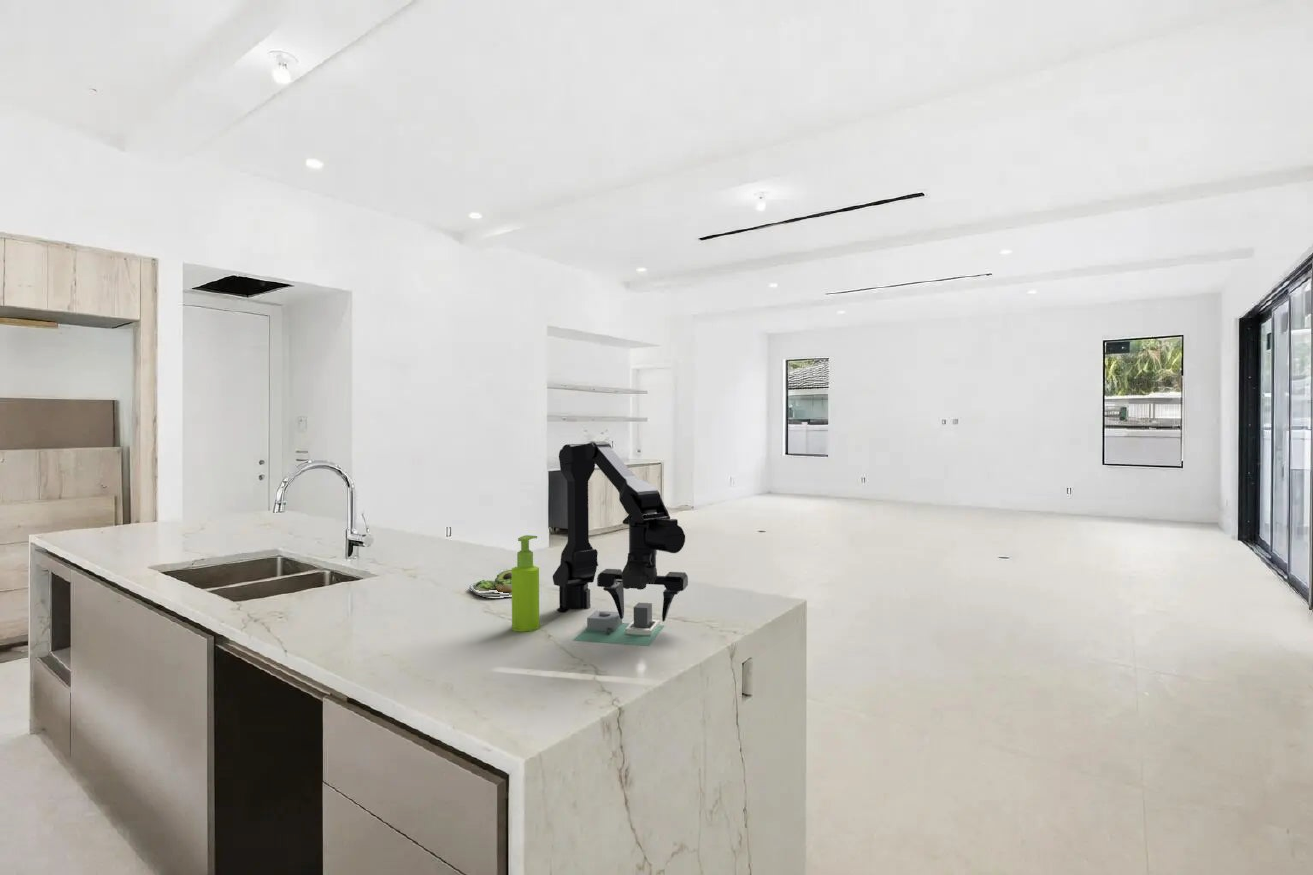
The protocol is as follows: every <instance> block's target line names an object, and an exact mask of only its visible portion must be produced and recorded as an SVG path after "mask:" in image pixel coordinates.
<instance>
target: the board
mask: <svg viewBox="0 0 1313 875" xmlns="http://www.w3.org/2000/svg"><path fill="white" fill-rule="evenodd" d="M664 628H665V625H661V620H660V619H652V627H651V628H650V629H646V628H634V619H633V620H632V621H631V622H623V619H621V618H620V616H619V613H618V611H613V610H612V611H609V610H595V611H594V612H593V613H591V614H590V615H589V616H588V617H586V627H585V629H584V630H582V631H581V632H580V633H579V634H577V636H575V638H573V639H572V641H575V642H590V643H603V644H613V645H614V644H616V645H617V644H618V645H628V646H629V645H630V646H645V647H650V645H651V644H652V643H653V641H654V640H655V639H656V638H657V637H658V635H659V634H660V633H661V631H662V630H663V629H664Z"/></svg>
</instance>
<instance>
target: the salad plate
mask: <svg viewBox="0 0 1313 875" xmlns="http://www.w3.org/2000/svg"><path fill="white" fill-rule="evenodd" d="M470 589H471V590H472V591H473V592H474V593H473V592H472V593H473V594H474V595H476V594H477V595H476V596H478V595H480V596H484V597H500V596H509V595H512V569H508V570H504V571H501V572H499V573H498V574H497V575H496V578H495V579H494V580H493V579H492V580H491V579H490V580H485V579H482V580H479V581H476V582H474V583H472V584H470V585H469V590H470ZM474 589H475V590H479V591H489V590H497V591H498V592H503V593H509V594H497V593H478V592H476V591H475V590H474ZM480 596H479V597H480Z"/></svg>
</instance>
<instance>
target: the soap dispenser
mask: <svg viewBox="0 0 1313 875" xmlns="http://www.w3.org/2000/svg"><path fill="white" fill-rule="evenodd" d="M532 539H533V540H534V539H538V535H531V534H530V535H528V534H525V535H522V536H520V537H518V538H517V541H518V542H520V550H519V551H518V552H517V553H516V557H517V558H516V560H517V561H516V562H517V563H516V564H517V565H516V566H514V567H512V568H511V570H512V597H511V629H512V630H513V631H515V632H532V631H533V632H534V631H536V630H538V629H539V628H540V567H539V566H538V565H537V566H536V565H534V552H533V551H531V550H530V540H532Z"/></svg>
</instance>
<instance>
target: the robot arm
mask: <svg viewBox="0 0 1313 875" xmlns="http://www.w3.org/2000/svg"><path fill="white" fill-rule="evenodd" d="M558 452H559V453H558V461H559V467H560V468H559V469H560V472H561V475H563V477H564V479H565V480H566V485H567V486H566V488H567V489H566V491H567V493H566V495H567V496H566V497H567V498H566V499H567V500H566V501H567V505H566V507H567V508H566V509H567V542H566V545H565V546H564V548H563V550H562V551H561V554H560V564H559V566H558V567H557V569H556V570H555V571H554V573H553V575H552V581H553V585H554V586H557V587H559V592H558V593H559V596H558V597H559V600H558V601H559V603H558V604H559V605H558V606H559V607H557V608H556V612H560V613H561V612H563V613H567V612H568V611H569V610H588V609H589V608H590V607H591V589H590V588H589V583H594V581H595V576H596V572H597V571H598V567H599V563H598V554H599V552H598V550H597V549H596V548H593V546H592V544H591V543H590V541H589V540H590V537H589V536H590V534H589V525H590V524H589V518H590V517H589V481H590V479H591V477H592V475H593V473H594V472H595V469H596V468H595V467H596V466H597V467H598V469H599V470H600V471H601V472H602V474H604V476H605V477H606V478H607V479H608V481H610V483H611V484H612V485H613V487H614V488H615V489H616V490H617V492H618V493H619V495H618V496H619V497H618V498H619V500H618V501H619V503H620V504H621V506H622V508H623V509H624V510H625V512H626V514H627V517H625V518H624V519H623V520H622V524H623V525H628V553H627V562H626V564H625V566H624V567H623V570H622V569H619V568H605V569H604V570H602V571H601V572H599V574H598V575H597V577H596V586H597V587H601V588H602V589H603V591H604V592H608V593H609V595H611V597H612V599H613V601H614V604H615V607H616V610H617V612H618V613H619V616H620V618H621V619H622V620H623V619H624V616H625V596H624V590H625V589H626V590H629V589H634V590H635V589H636V590H640V591H641V590H644V589H646V588H647V585H656V586H657V585H661V586H664V588H665V589H664V591H662V595H663V600H662V601H663V602H662V613H661V618H662V619H661V620H662V622H663V623H664V622H665V621H666V618H667V616H668V613H669V612H670V607H671V605H672V602H673V599H674V597H675V595H678V594H679V593H680V592H683V591H684V590H685V589H686V588H687V587H688V585H689V577H688V575H687V573H686V572H682V571H681V572H680V571H679V572H678V571H669V572H668V573H667V574H666V575H658V571H657V570H658V568H657V563H656V562H657V555H658V554H657V551H659V552H665V553H668V554H669V553H670V554H678V553H679V552H680V551H681V550H682V549H683V548H684V545H685V542H686V534H685V532H684V530H683V528H682V526H680V525H678V524H679V523H678V519H677V518H671V517H670V514H669V511H668V509H667V507H666V506H665V503H664V502H663V500H662V497H661V494H660V492H659V490H658V489H657V488H656V487H654V486H653V485H652V484H650V483H649V482H647V481H645V480H643V479H640V478H639V477H638V476H636V475H635V474H634V473H633V471H632V470H631V469H630V468H629V467H628V466H627V464H625V462H624V461H623V460H622V459H621V458H620V457H619V456H618V454H616V452H615V451H614V450H613V449H612V446H611V444H610V443H609V442H607V441H591V442H589V443H569V444H568V443H567V444H564V445H563V446H562V448H561V449H559V451H558Z"/></svg>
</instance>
